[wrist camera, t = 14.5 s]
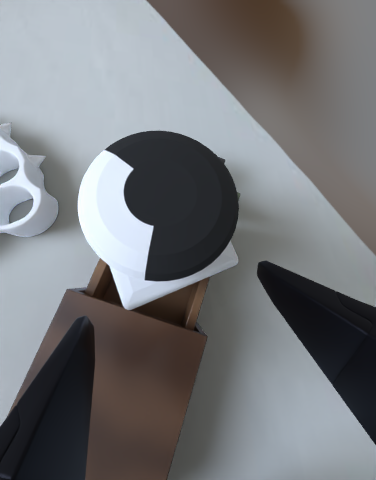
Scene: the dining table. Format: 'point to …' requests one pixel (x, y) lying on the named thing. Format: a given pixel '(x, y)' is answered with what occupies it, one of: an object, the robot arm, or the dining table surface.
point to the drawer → (165, 308)
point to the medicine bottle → (159, 214)
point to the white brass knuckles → (23, 189)
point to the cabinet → (129, 385)
